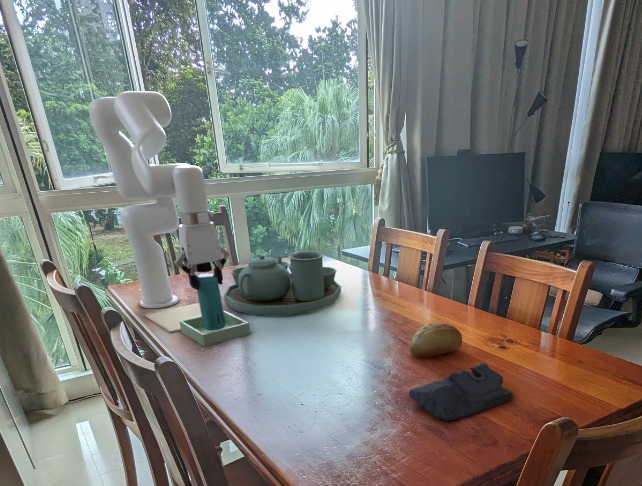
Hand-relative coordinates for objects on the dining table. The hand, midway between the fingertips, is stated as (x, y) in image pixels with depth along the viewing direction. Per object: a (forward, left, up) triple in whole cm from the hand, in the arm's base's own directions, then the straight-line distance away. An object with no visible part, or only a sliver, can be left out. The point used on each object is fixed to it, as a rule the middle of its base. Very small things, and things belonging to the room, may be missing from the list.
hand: (207, 285), depth 144 cm
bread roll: (+55, +36, -14) cm, 67 cm away
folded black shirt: (+75, +21, -14) cm, 79 cm away
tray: (0, 0, -14) cm, 14 cm away
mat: (-19, 0, -14) cm, 24 cm away
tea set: (-14, +33, -14) cm, 39 cm away
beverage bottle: (0, 0, -14) cm, 14 cm away
